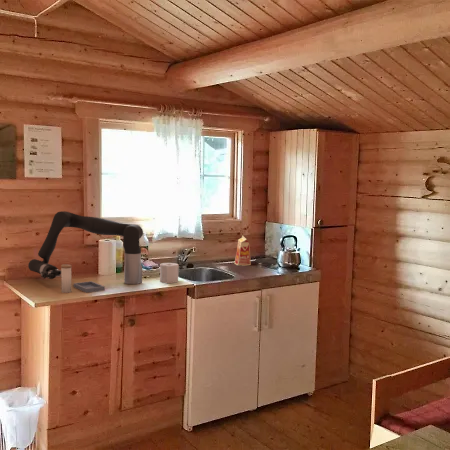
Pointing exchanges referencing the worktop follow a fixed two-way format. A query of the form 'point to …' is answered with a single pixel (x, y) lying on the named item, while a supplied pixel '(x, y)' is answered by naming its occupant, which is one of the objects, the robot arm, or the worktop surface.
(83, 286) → the dish
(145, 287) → the worktop surface
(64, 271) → the canister
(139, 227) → the robot arm
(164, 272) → the toilet tissue
